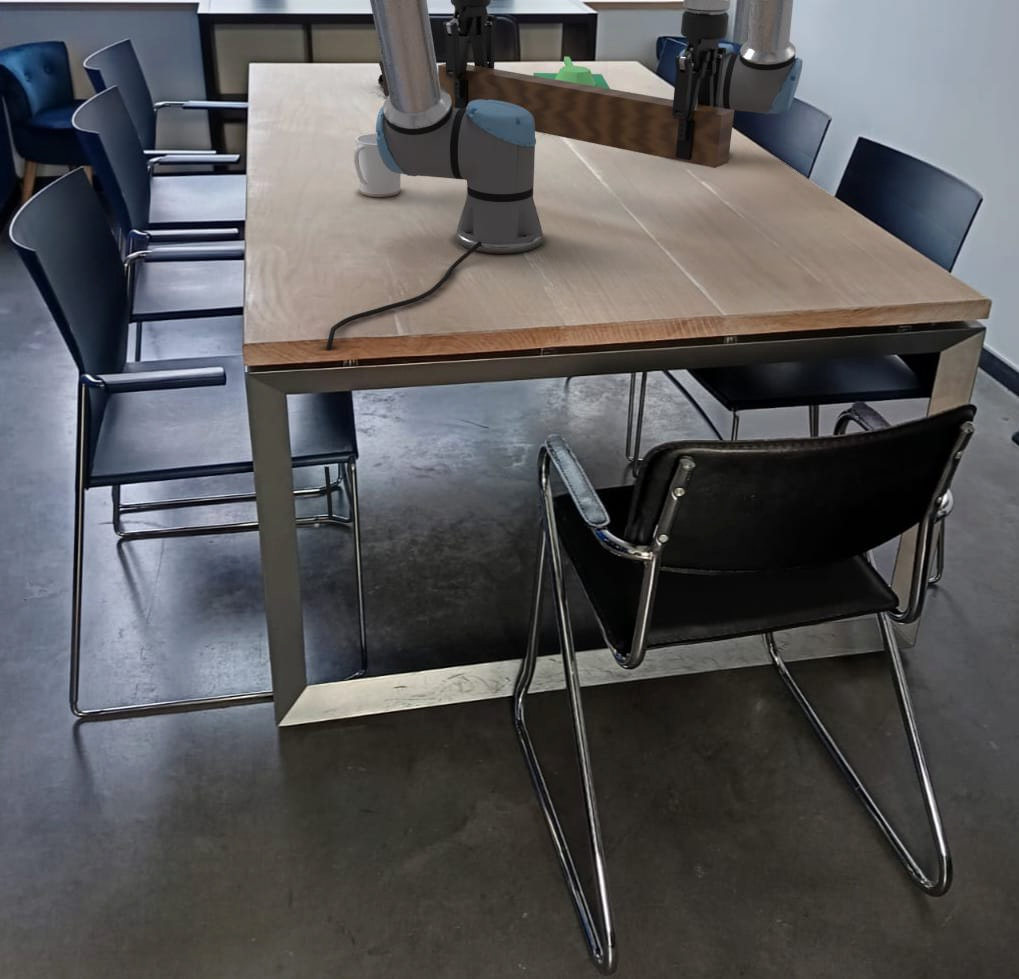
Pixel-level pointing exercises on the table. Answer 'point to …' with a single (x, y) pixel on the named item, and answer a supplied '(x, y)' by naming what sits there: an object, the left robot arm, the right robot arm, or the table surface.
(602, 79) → the green tank
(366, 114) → the table surface
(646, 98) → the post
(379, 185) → the mug
